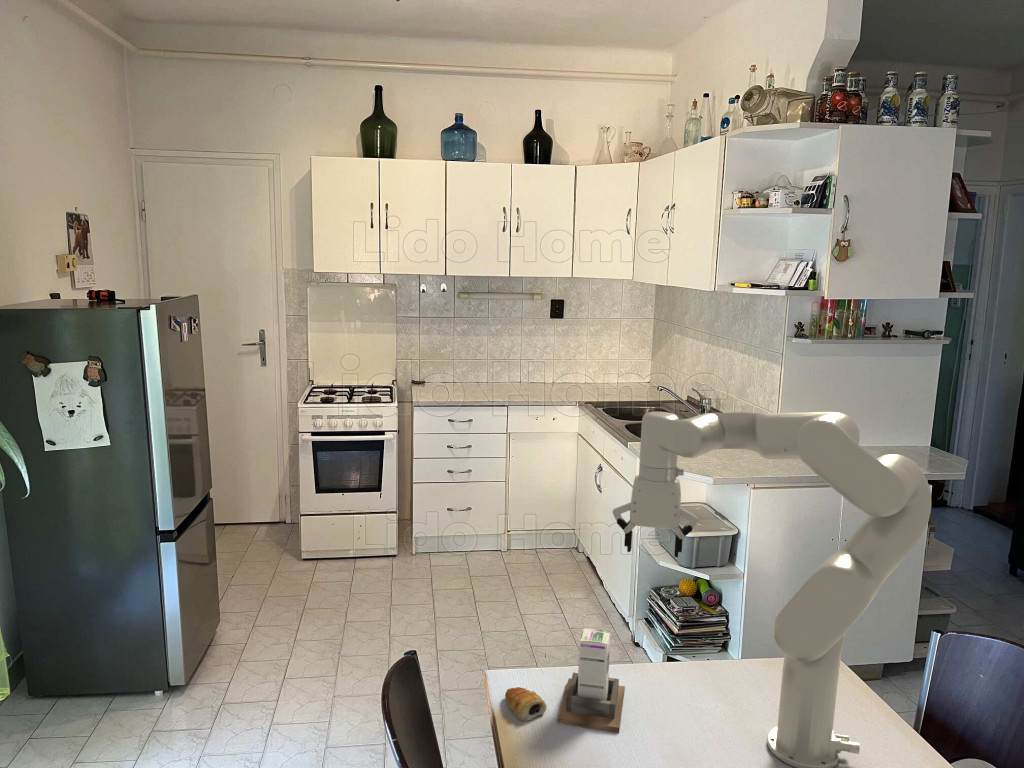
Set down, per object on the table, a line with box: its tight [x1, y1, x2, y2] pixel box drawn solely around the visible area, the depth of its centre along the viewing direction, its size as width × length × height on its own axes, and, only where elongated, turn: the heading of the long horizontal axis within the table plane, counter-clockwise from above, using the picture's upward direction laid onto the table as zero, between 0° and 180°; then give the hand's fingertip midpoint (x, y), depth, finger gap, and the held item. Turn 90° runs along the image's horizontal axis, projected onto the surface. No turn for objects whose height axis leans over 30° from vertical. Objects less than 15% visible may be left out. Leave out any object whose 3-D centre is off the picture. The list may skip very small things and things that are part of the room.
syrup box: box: [577, 628, 611, 701], centre depth 152 cm, size 6×6×14 cm
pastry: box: [504, 686, 547, 722], centre depth 153 cm, size 9×7×4 cm
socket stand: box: [557, 672, 626, 733], centre depth 153 cm, size 12×15×4 cm
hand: (652, 552), depth 157 cm, fingers open, 9 cm apart
